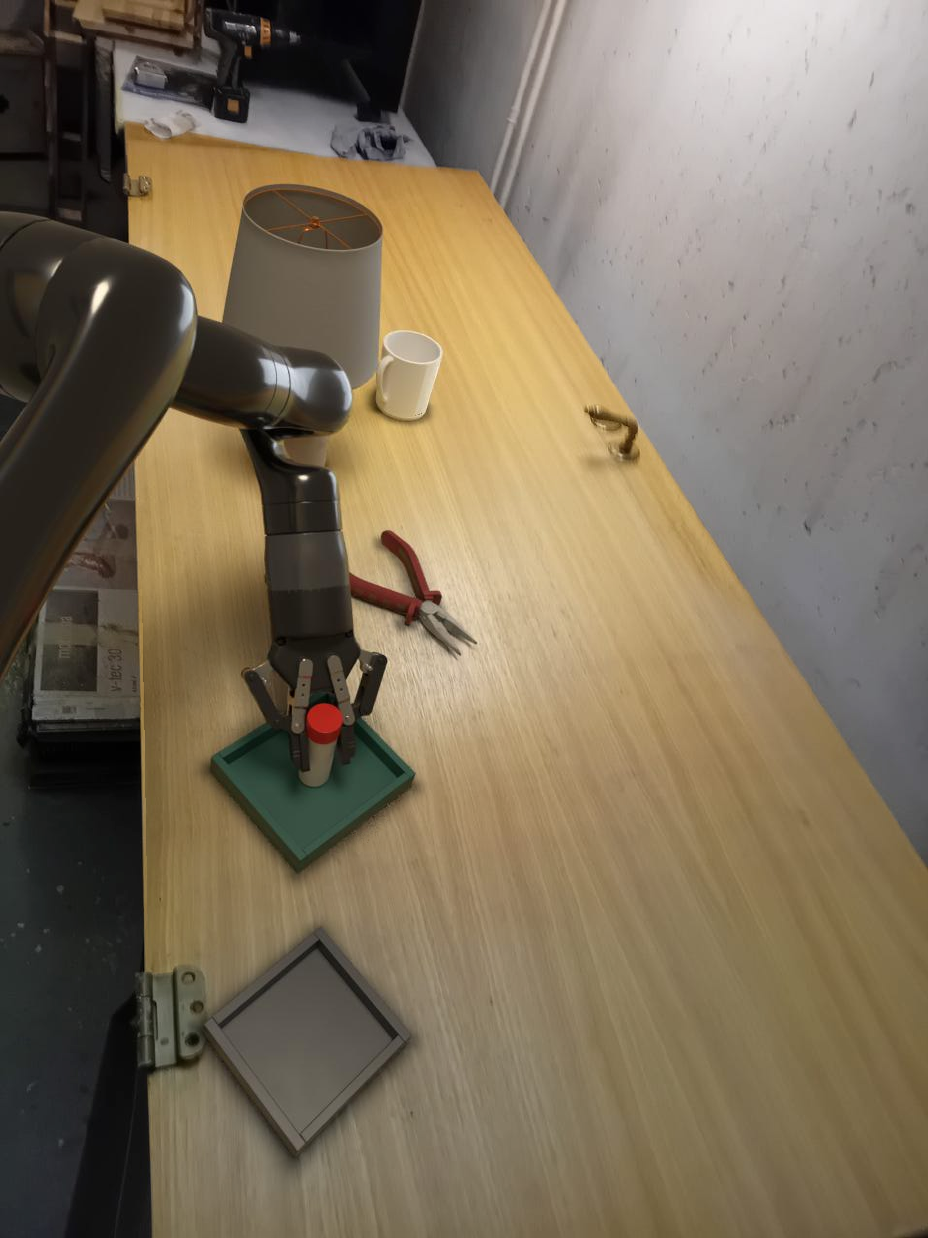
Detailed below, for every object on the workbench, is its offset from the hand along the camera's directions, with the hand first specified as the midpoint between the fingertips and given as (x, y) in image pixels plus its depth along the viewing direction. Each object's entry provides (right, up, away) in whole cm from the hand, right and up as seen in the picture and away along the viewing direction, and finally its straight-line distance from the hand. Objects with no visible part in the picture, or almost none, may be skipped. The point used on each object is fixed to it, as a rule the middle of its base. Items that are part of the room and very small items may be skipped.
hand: (324, 765), depth 77 cm
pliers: (+4, +16, +24) cm, 29 cm away
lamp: (-11, +35, +36) cm, 51 cm away
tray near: (0, -20, -10) cm, 23 cm away
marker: (-2, -2, +5) cm, 5 cm away
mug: (+2, +46, +51) cm, 69 cm away
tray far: (-2, -2, +5) cm, 6 cm away
